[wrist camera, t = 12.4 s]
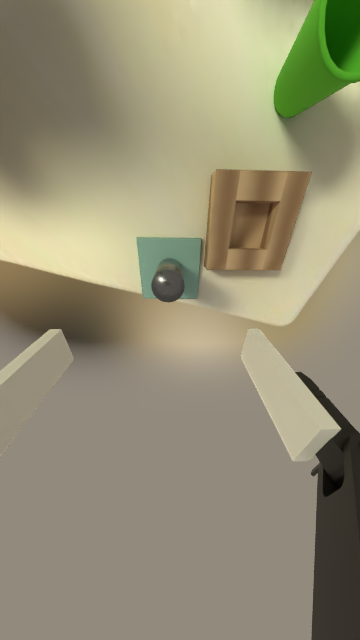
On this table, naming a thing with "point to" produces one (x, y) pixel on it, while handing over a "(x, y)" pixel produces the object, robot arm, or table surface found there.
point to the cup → (320, 57)
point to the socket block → (252, 218)
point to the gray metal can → (168, 281)
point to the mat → (175, 248)
